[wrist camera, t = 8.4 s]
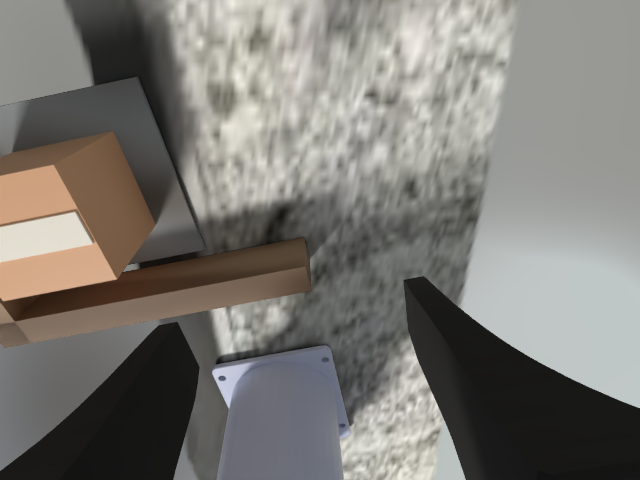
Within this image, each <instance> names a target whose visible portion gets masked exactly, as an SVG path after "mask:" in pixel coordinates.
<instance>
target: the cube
mask: <svg viewBox="0 0 640 480" xmlns="http://www.w3.org/2000/svg"><path fill="white" fill-rule="evenodd" d="M155 226H156V224H155V222H154V219H153V217H152V215H151V213H150V211H149V208H148V206H147V204H146V202H145V200H144V197H143V195H142V193H141V191H140V189H139V186H138V184H137V182H136V180H135V178H134V175H133V173H132V171H131V169H130V167H129V164H128V162H127V160H126V158H125V156H124V153H123V151H122V149H121V147H120V145H119V142H118V140H117V138H116V136H115V134H114V131H111V132H107V133H102V134H97V135H93V136H88V137H83V138H78V139H74V140H69V141H64V142H59V143H55V144H50V145H45V146H40V147H36V148H31V149H26V150H22V151H17V152H12V153H10V154H7V155H5V156H3V157H1V158H0V298H1V299H2V300H3V301H7V300H13V299H18V298H23V297H28V296H33V295H39V294H44V293H49V292H54V291H59V290H64V289H70V288H75V287H80V286H85V285H90V284H96V283H101V282H106V281H111V280H116V279H118V277H119V276H120V275H121V273H122V272H123V270H124V269H125V268H126V266H127V265H128V263H129V262H130V261H131V259H132V258H133V256H134V255H135V254H136V252H137V251H138V249H139V248H140V247H141V245H142V244H143V242H144V241H145V240H146V238H147V237H148V235H149V234H150V233H151V231H152V230H153V228H154V227H155Z"/></svg>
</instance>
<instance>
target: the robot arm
mask: <svg viewBox="0 0 640 480" xmlns="http://www.w3.org/2000/svg"><path fill="white" fill-rule="evenodd" d="M404 290H405V300H406V310H407V320H408V330H409V333H410V336H411V340H412V343H413V346H414V349H415V353H416V356H417V359H418V361H419V364H420V366H421V368H422V370H423V373H424V375H425V377H426V380H427V382H428V384H429V386H430V389H431V391H432V393H433V395H434V398H435V400H436V402H437V404H438V407H439V409H440V411H441V413H442V416H443V418H444V420H445V422H446V425H447V427H448V430H449V432H450V435H451V437H452V440H453V442H454V446H455V449H456V452H457V455H458V457H459V460H460V463H461V466H462V469H463V472H464V475H465V478H466V480H640V408H637V407H635V406H632V405H629V404H627V403H624V402H622V401H619V400H617V399H614V398H612V397H610V396H608V395H605V394H603V393H601V392H598V391H596V390H593V389H592V388H589V387H587V386H585V385H583V384H581V383H579V382H576V381H574V380H572V379H570V378H568V377H566V376H564V375H562V374H560V373H558V372H557V371H555V370H553V369H551V368H549V367H547V366H545V365H543V364H541V363H539V362H537V361H536V360H534V359H532V358H530V357H528V356H527V355H525V354H524V353H522V352H520V351H518V350H517V349H515V348H514V347H512V346H511V345H509V344H507V343H506V342H504V341H503V340H501V339H500V338H498V337H497V336H496V335H494V334H493V333H491V332H490V331H489V330H487V329H486V328H484V327H483V326H482V325H480V324H479V323H478V322H476V321H475V320H474V319H472V318H471V317H470V316H469V315H468V314H466V313H465V312H464V311H463V310H461V309H460V308H459V307H458V306H456V305H455V304H454V303H453V302H452V301H451V300H449V299H448V298H447V297H446V296H445V295H444V294H443V293H442V292H440V291H439V290H438V289H437V288H436V287H435V286H434V285H433V284H432V283H431V282H430V281H429V280H428V279H426V278H425V277H424V276H422V277H417V278H412V279H406V280H404ZM324 357H327V358H324ZM212 374H213V376H214V378H215V380H216V382H217V385H218V387H219V389H220V391H221V393H222V395H223V397H224V399H225V401H226V404H227V406H228V408H229V413H228V419H227V424H226V430H225V436H224V441H223V447H222V453H221V458H220V464H219V469H218V475H217V480H344V477H343V468H342V458H341V448H340V439H339V438H345V437H348V436H349V435H350V427H349V422H348V418H347V414H346V410H345V406H344V402H343V398H342V393H341V389H340V385H339V381H338V377H337V373H336V369H335V364H334V360H333V356H332V352H331V349H330V347H328V346H326V345H322V346H316V347H310V348H305V349H299V350H294V351H288V352H283V353H277V354H271V355H266V356H260V357H255V358H249V359H243V360H238V361H232V362H227V363H221V364H217V365H215V366H214V367H213V371H212ZM198 375H199V365H198V363H197V361H196V359H195V357H194V355H193V353H192V351H191V349H190V347H189V345H188V343H187V341H186V339H185V336H184V334H183V332H182V330H181V328H180V326H179V324H178V322H174V323H169V324H163V325H159V326H158V327H157V328H155V329H154V330H153V331H152V332H151V333H150V334H149V335H148V336H147V337H146V338H145V340H144V341H143V342H142V343H141V344H140V345H139V346H138V347H137V348H136V349H135V350H134V351H133V352H132V353H131V354H130V355H129V356H128V358H127V359H126V360H125V361H124V362H123V363H122V364H121V365H120V366H119V367H118V368H117V369H116V370H115V371H114V372H113V373H112V374H111V375H110V376H109V377H108V378H107V379H106V380H105V381H104V382H103V383H102V385H100V386H99V387H98V388H97V389H96V390H95V391H94V392H93V393H92V394H91V395H90V396H89V397H88V398H87V399H86V400H85V401H84V402H83V403H82V404H81V405H80V406H79V407H78V408H77V409H75V410H74V411H73V412H72V413H71V414H70V415H69V416H68V417H67V418H66V419H64V420H63V421H62V422H61V423H60V424H59V425H58V426H56V427H55V428H54V429H53V430H52V431H51V432H49V433H48V434H47V435H46V436H45V437H44V438H42V439H41V440H40V441H39V442H37V443H36V444H35V445H34V446H32V447H31V448H30V449H28V450H27V451H26V452H25V453H24V454H22V455H21V456H19V457H18V458H17V459H15V460H14V461H13V462H12V463H10V464H9V465H8V466H6V467H5V468H4V469H3V470H1V471H0V480H173V478H174V474H175V470H176V466H177V463H178V459H179V456H180V452H181V448H182V445H183V441H184V438H185V434H186V431H187V427H188V424H189V420H190V416H191V412H192V409H193V405H194V401H195V397H196V390H197V384H198Z"/></svg>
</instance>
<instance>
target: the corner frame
mask: <svg viewBox="0 0 640 480" xmlns="http://www.w3.org/2000/svg"><path fill="white" fill-rule="evenodd" d="M111 131H114V134H115V136H116V138H117V140H118V142H119V145H120V147H121V149H122V151H123V153H124V156H125V158H126V160H127V162H128V164H129V167H130V169H131V171H132V173H133V175H134V178H135V180H136V182H137V184H138V186H139V189H140V191H141V193H142V195H143V197H144V200H145V202H146V204H147V206H148V208H149V211H150V213H151V215H152V217H153V219H154V222H155V224H156V226H155V227H154V228H153V230H152V231H151V233H150V234H149V235H148V237H147V238H146V240H145V241H144V242H143V244H142V245H141V247H140V248H139V249H138V251H137V252H136V254H135V255H134V256H133V258H132V259H131V261H130V262H129V263H128V265H130V264H135V263H140V262H145V261H150V260H156V259H161V258H166V257H171V256H176V255H181V254H187V253H192V252H197V251H202V250H205V249H206V248H205V245H204V243H203V240H202V238H201V235H200V232H199V230H198V227H197V225H196V222H195V220H194V217H193V215H192V212H191V210H190V207H189V205H188V202H187V199H186V197H185V194H184V192H183V189H182V187H181V184H180V182H179V179H178V177H177V174H176V172H175V169H174V166H173V164H172V161H171V159H170V156H169V154H168V151H167V149H166V146H165V144H164V141H163V139H162V136H161V133H160V131H159V128H158V126H157V123H156V121H155V118H154V116H153V113H152V111H151V108H150V106H149V103H148V100H147V98H146V95H145V93H144V90H143V88H142V85H141V83H140V80H139V78H138V76H137V77H133V78H128V79H123V80H119V81H114V82H110V83H105V84H100V85H96V86H91V87H87V88H82V89H77V90H73V91H68V92H63V93H59V94H54V95H50V96H45V97H40V98H36V99H31V100H26V101H22V102H17V103H13V104H8V105H4V106H0V158H1V157H3V156H5V155H7V154H10V153H12V152H17V151H22V150H26V149H31V148H36V147H40V146H45V145H50V144H55V143H59V142H64V141H69V140H74V139H78V138H83V137H88V136H93V135H97V134H102V133H107V132H111ZM308 291H311V275H310V259H309V255H308V251H307V247H306V242H305V238H304V237H303V238H297V239H292V240H287V241H282V242H277V243H271V244H266V245H261V246H256V247H251V248H246V249H240V250H235V251H230V252H225V253H220V254H214V255H209V256H204V257H199V258H194V259H188V260H183V261H178V262H173V263H168V264H163V265H157V266H152V267H147V268H142V269H137V270H131V271H126V272H122V273H121V275H120V276H119V277H118V279H116V280H111V281H106V282H101V283H96V284H90V285H85V286H80V287H75V288H70V289H64V290H59V291H54V292H49V293H44V294H39V295H33V296H28V297H23V298H18V299H13V300H7V301H3V300H2V299H1V298H0V343H1V345H2V346H3V347H4V348H7V347H12V346H18V345H23V344H28V343H34V342H39V341H45V340H50V339H55V338H61V337H66V336H72V335H77V334H82V333H87V332H93V331H98V330H104V329H109V328H115V327H120V326H125V325H130V324H136V323H141V322H147V321H152V320H158V319H163V318H168V317H174V316H179V315H184V314H190V313H195V312H201V311H206V310H211V309H217V308H222V307H227V306H233V305H238V304H244V303H249V302H254V301H260V300H265V299H270V298H276V297H281V296H287V295H292V294H297V293H303V292H308Z"/></svg>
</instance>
